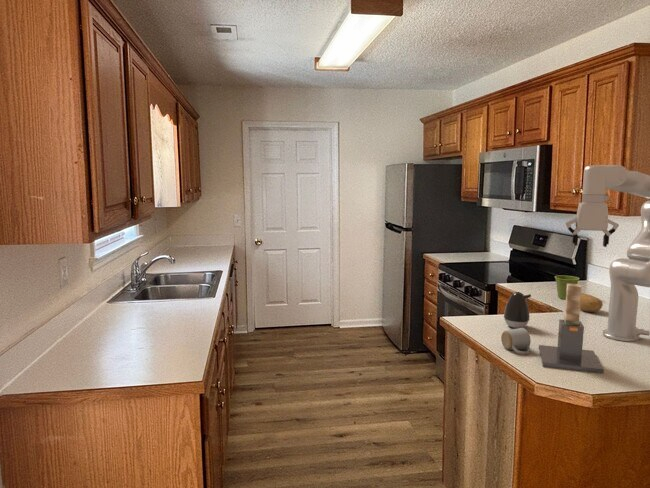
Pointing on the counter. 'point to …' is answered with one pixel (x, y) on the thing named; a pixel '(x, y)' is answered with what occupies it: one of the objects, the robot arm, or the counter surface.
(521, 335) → the ceramic mug
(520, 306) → the pump dispenser
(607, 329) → the robot arm
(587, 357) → the stand
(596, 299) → the potato
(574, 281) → the plant pot
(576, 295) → the post
